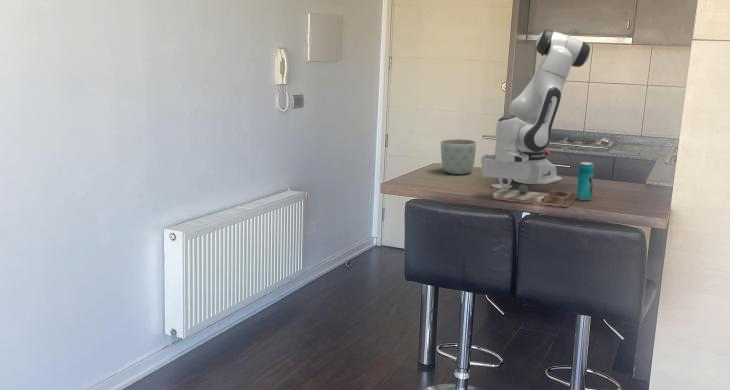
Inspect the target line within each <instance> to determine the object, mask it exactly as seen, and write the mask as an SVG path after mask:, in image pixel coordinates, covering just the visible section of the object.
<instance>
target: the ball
mask: <svg viewBox="0 0 730 390" xmlns="http://www.w3.org/2000/svg"><path fill="white" fill-rule="evenodd" d="M517 189H518V191H519V192H520V193H521V194H525V193H527V192H529V186H528V184H525V183H520V184H519V186H518V188H517Z"/></svg>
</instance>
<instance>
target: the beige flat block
mask: <svg viewBox="0 0 730 390" xmlns="http://www.w3.org/2000/svg"><path fill="white" fill-rule="evenodd" d="M548 194H549V193H546V192H538V191H537V192H536V191H528V192H527V193H525V194H521V193H520V192H519V191H518V190H517V189H511V188H510V189H508V190H507V189H497V190H496V191H495V192H493V193H492V197H493V196H494V197H503V198H512V199H521V200H528V201H537V202H541V199H542V198H543V197H544V195H548Z"/></svg>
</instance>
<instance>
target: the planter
mask: <svg viewBox="0 0 730 390" xmlns="http://www.w3.org/2000/svg"><path fill="white" fill-rule="evenodd" d="M476 147H477V142H476V140H472V139H465V138H463V139H461V138H453V139H443V140H441V141H440V154H441V155H440V156H441V157H440V158H441V165H442V168H443V170H444V171H445V172H446V173H448V174H449V175H456V174H461V175H466V174H469V173H470V172H471V171H472V170H473V169H474V166H475V160H476V159H475V158H476V149H477V148H476Z"/></svg>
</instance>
